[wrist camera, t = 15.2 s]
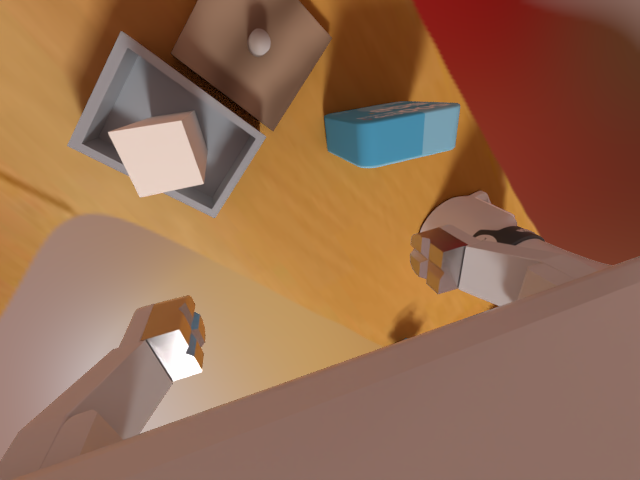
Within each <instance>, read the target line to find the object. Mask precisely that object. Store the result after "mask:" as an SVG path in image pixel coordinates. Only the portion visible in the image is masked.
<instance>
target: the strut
mask: <svg viewBox="0 0 640 480" xmlns="http://www.w3.org/2000/svg"><path fill="white" fill-rule="evenodd" d="M108 134H109V136H110V138H111V140H112V142H113V144H114V146H115V148H116V150H117V152H118V154H119V156H120V158H121V160H122V162H123V164H124V166H125V168H126V170H127V172H128V174H129V176H130V178H131V180H132V182H133V184H134V186H135V188H136V190H137V193H138V195H139V197H145V196H149V195H154V194H159V193H163V192H168V191H173V190H178V189H182V188H187V187H192V186H196V185H201V184H204V179H205V171H206V163H207V154H208V150H207V147H206V144H205V141H204V138H203V135H202V132H201V129H200V125H199V122H198V119H197V116H196V113H195V110H193V111H187V112H180V113H173V114H167V115H160V116H154V117H150V118H147V119H144V120H141V121H138V122H135V123H132V124H130V125H127V126H124V127H121V128H118V129H115V130H112V131H110V132H108Z"/></svg>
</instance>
